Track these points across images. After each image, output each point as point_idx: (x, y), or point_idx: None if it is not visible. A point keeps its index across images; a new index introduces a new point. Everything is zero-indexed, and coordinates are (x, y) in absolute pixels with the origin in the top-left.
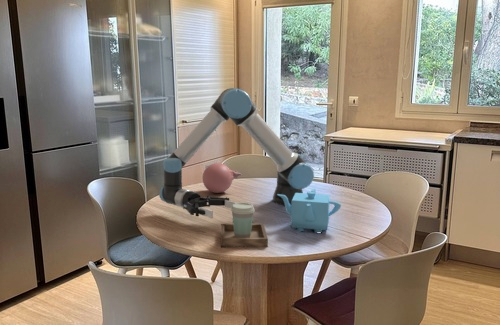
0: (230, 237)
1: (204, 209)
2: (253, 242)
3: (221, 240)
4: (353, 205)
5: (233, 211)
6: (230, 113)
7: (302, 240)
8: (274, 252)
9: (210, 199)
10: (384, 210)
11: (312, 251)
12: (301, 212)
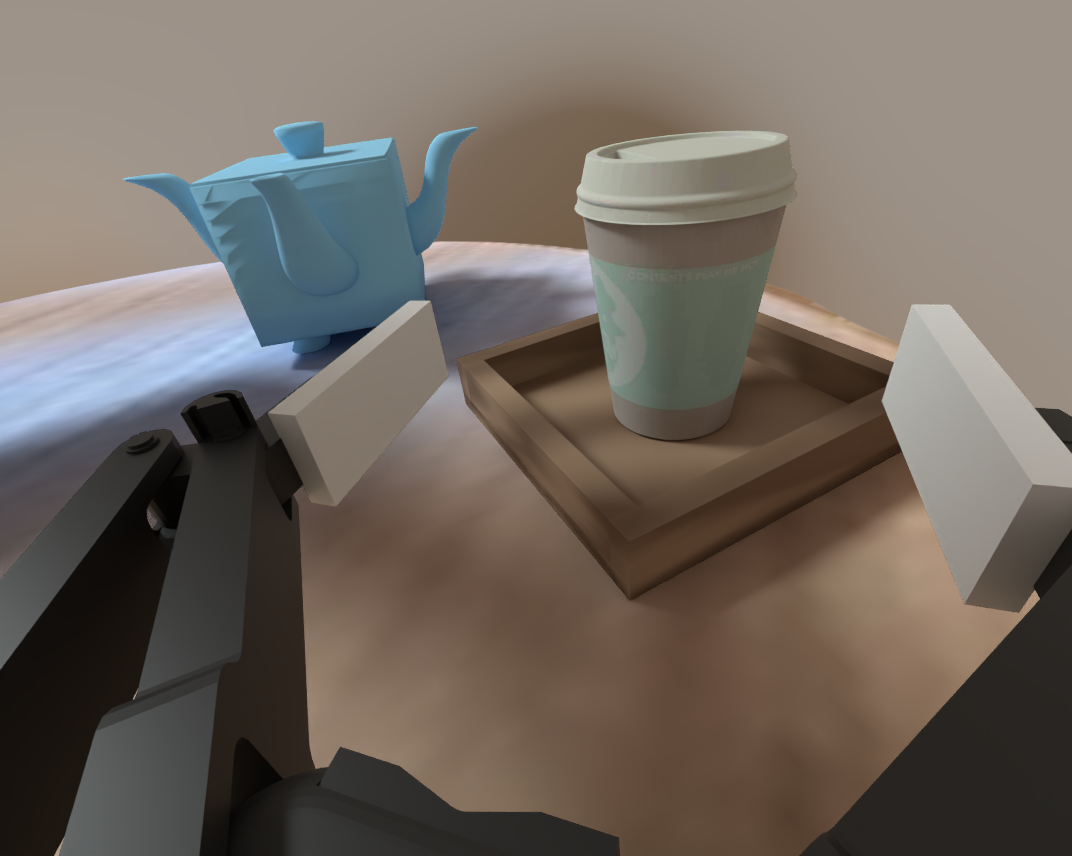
0: (745, 446)
1: (1009, 396)
2: None
3: None
4: (24, 323)
5: (792, 187)
6: None
7: (524, 297)
8: None
9: (229, 663)
10: (127, 277)
11: None
12: (405, 217)
